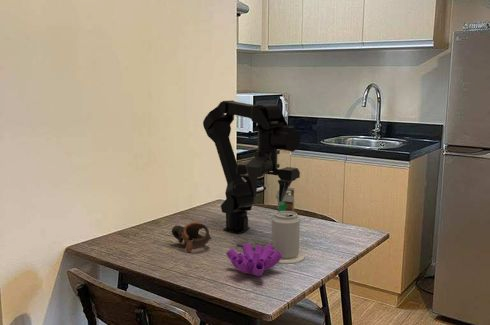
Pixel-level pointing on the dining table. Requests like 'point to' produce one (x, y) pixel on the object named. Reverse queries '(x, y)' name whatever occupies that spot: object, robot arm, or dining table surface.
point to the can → (286, 233)
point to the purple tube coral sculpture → (254, 258)
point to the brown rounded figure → (191, 235)
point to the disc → (293, 259)
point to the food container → (286, 201)
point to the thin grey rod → (243, 244)
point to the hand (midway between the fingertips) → (267, 199)
